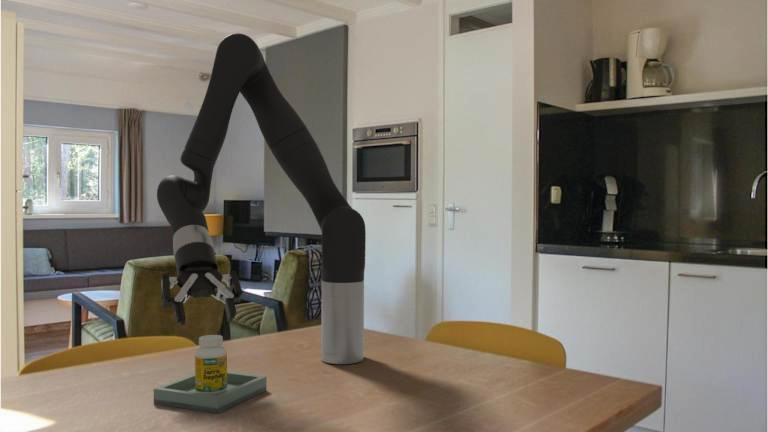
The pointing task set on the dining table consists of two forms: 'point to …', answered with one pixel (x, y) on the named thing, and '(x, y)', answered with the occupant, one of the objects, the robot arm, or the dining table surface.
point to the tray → (186, 396)
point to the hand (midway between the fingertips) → (207, 320)
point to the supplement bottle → (211, 366)
